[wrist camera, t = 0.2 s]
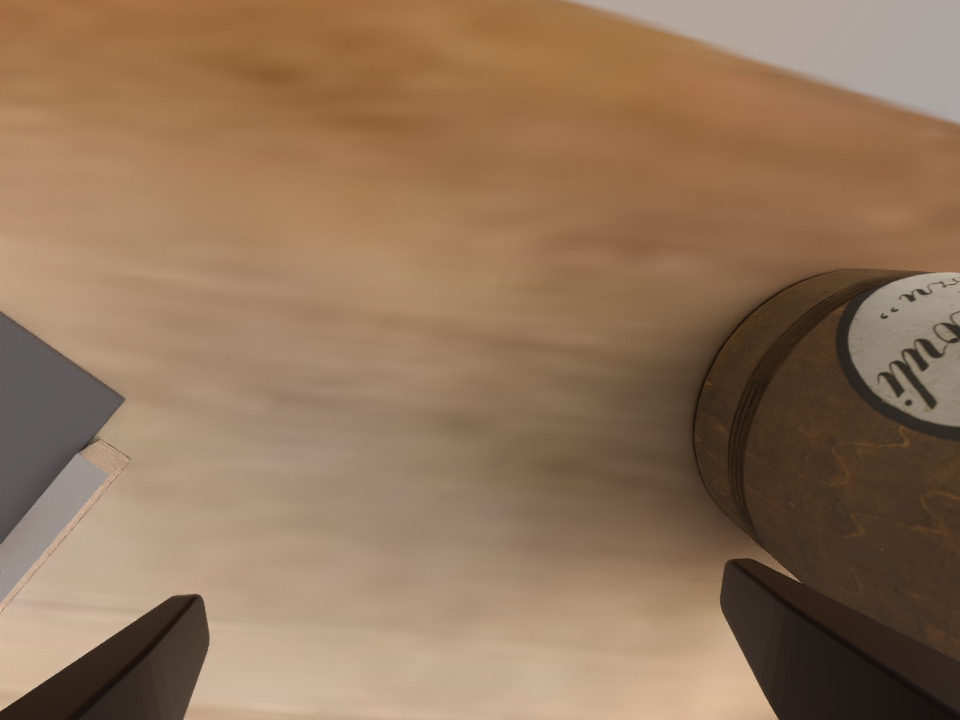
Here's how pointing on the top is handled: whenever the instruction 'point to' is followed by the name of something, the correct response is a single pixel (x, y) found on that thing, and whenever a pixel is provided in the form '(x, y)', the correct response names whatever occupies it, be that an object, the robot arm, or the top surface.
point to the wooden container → (848, 442)
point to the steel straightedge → (56, 514)
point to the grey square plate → (41, 418)
